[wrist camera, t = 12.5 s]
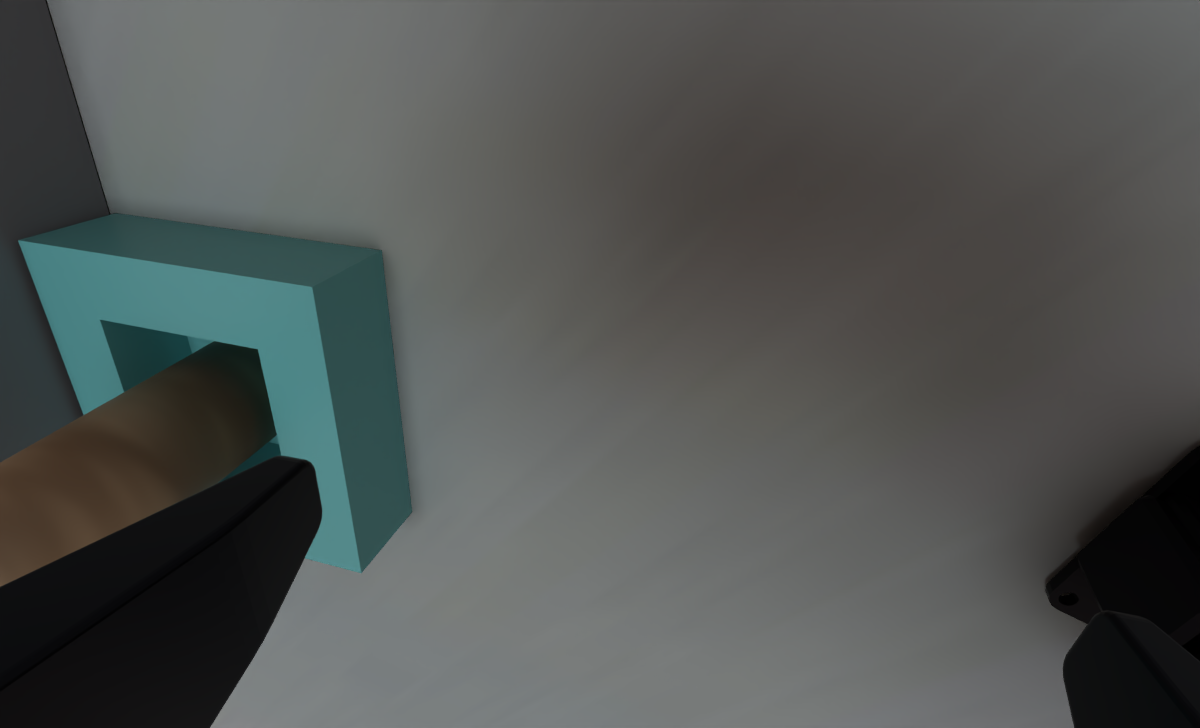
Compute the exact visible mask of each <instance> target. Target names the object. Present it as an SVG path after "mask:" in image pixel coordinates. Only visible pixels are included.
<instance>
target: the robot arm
mask: <svg viewBox="0 0 1200 728" xmlns="http://www.w3.org/2000/svg"><path fill="white" fill-rule="evenodd" d="M321 520H322V504H321V499H320V493H319V488H318V482H317V476H316V471H315V468H314V466H313V464H312V463H311V462H310V461H308V460H305V459H300V458H294V457H289V456H275V457H272V458H270V459H268V460H266V461H263V462H261V463H259V464H257V465H255V466H253V467H251V468H249V469H247V470H245V471H242V472H240V473H238V474H236V475H234V476H232V477H230V478H228V479H226V480H224V481H221V482H219V483H217V484H215V485H213V486H211V487H209V488H207V489H205V490H203V491H200V492H198V493H196V494H194V495H192V496H190V497H188V498H186V499H184V500H181V501H179V502H177V503H175V504H173V505H171V506H169V507H167V508H165V509H163V510H160V511H158V512H156V513H154V514H152V515H150V516H148V517H146V518H144V519H142V520H139V521H137V522H135V523H133V524H131V525H129V526H127V527H125V528H123V529H121V530H118V531H116V532H114V533H112V534H110V535H108V536H106V537H104V538H102V539H100V540H97V541H95V542H93V543H91V544H89V545H87V546H85V547H83V548H81V549H79V550H76V551H74V552H72V553H70V554H68V555H66V556H64V557H62V558H60V559H58V560H55V561H53V562H51V563H49V564H47V565H45V566H43V567H41V568H39V569H37V570H34V571H32V572H30V573H28V574H26V575H24V576H22V577H20V578H18V579H15V580H13V581H11V582H9V583H7V584H5V585H3V586H1V587H0V728H210V727H211V725H212V724H213V722H214V720H215V719H216V717H217V716H218V714H219V712H220V711H221V709H222V708H223V706H224V704H225V703H226V701H227V700H228V698H229V696H230V695H231V693H232V692H233V690H234V688H235V687H236V685H237V684H238V682H239V680H240V679H241V677H242V675H243V674H244V672H245V671H246V669H247V667H248V666H249V664H250V663H251V661H252V659H253V658H254V656H255V654H256V653H257V651H258V649H259V648H260V646H261V644H262V643H263V641H264V639H265V637H266V635H267V633H268V631H269V629H270V627H271V625H272V624H273V622H274V619H275V617H276V615H277V613H278V611H279V609H280V607H281V605H282V603H283V601H284V599H285V597H286V595H287V593H288V591H289V589H290V587H291V585H292V583H293V581H294V579H295V577H296V575H297V573H298V571H299V569H300V567H301V565H302V562H303V560H304V558H305V556H306V554H307V552H308V550H309V548H310V546H311V544H312V542H313V540H314V538H315V536H316V534H317V532H318V530H319V527H320V524H321ZM1045 591H1046V594H1047V596H1048V599H1049V601H1050V603H1051V605H1052V606H1053V607H1055V608H1056V609H1058V610H1060V611H1062V612H1064V613H1066V614H1068V615H1070V616H1072V617H1074V618H1076V619H1078V620H1080V621H1082V622H1085V623H1087V624H1088V625H1087V626H1086V628H1085V629H1084V630H1083V632H1082V633H1081V635H1080V636H1079V637H1078V639H1077V640H1076V642H1075V643H1074V644H1073V646H1072V647H1071V649H1070V650H1069V651H1068V653H1067V655H1066V657H1065V660H1064V664H1063V678H1064V683H1065V688H1066V692H1067V697H1068V701H1069V706H1070V710H1071V715H1072V720H1073V724H1074V728H1200V446H1199V447H1197V448H1196V449H1194V450H1192V451H1191V452H1190V453H1189V454H1188V455H1187V456H1186V457H1185V458H1184V459H1183V460H1181V461H1180V462H1179V463H1178V464H1177V465H1176V466H1175V467H1174V468H1173V469H1172V470H1170V471H1169V472H1168V473H1167V474H1166V475H1165V476H1164V477H1163V478H1162V479H1161V480H1160V481H1158V482H1157V483H1156V484H1155V485H1154V486H1153V487H1152V488H1151V489H1150V490H1149V491H1148V492H1146V493H1145V494H1144V495H1143V496H1142V497H1141V498H1139V499H1137V500H1136V501H1135V502H1134V503H1133V504H1132V505H1131V506H1130V507H1129V508H1127V509H1126V510H1125V511H1124V512H1123V513H1122V514H1121V515H1120V516H1119V517H1118V518H1117V519H1115V520H1114V521H1113V522H1112V523H1111V524H1110V525H1109V526H1108V527H1107V528H1106V529H1105V530H1103V531H1102V532H1101V533H1100V534H1099V535H1098V536H1097V537H1096V538H1095V539H1094V540H1093V541H1091V542H1090V543H1089V544H1088V545H1087V546H1086V547H1085V548H1084V549H1083V550H1082V551H1080V552H1079V553H1078V555H1077V556H1076V557H1075V558H1074V559H1073V560H1072V561H1071V562H1070V563H1069V564H1068V565H1067V566H1065V567H1064V568H1063V569H1062V570H1061V571H1060V572H1059V573H1058V574H1057V575H1056V576H1055V577H1053V578H1052V579H1051V580H1050V581H1049V582H1048V584H1047V585H1046V590H1045ZM1069 592H1070V593H1072V594H1070V595H1067V596H1062V595H1061V594H1063V593H1069Z"/></svg>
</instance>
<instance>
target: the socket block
mask: <svg viewBox="0 0 1200 728" xmlns="http://www.w3.org/2000/svg"><path fill="white" fill-rule="evenodd" d="M18 242H19V244H20V247H21V250H22V252H23V255H24V258H25V260H26V263H27V266H28V268H29V271H30V274H31V276H32V279H33V282H34V284H35V287H36V290H37V292H38V295H39V298H40V300H41V303H42V306H43V308H44V311H45V314H46V316H47V319H48V322H49V324H50V327H51V330H52V332H53V335H54V338H55V340H56V343H57V346H58V348H59V351H60V353H61V356H62V359H63V361H64V364H65V367H66V369H67V372H68V375H69V377H70V380H71V383H72V385H73V388H74V391H75V393H76V396H77V399H78V401H79V404H80V407H81V409H82V412H83V415H85V414H87V413H88V412H90V411H92V410H94V409H95V408H97V407H99V406H101V405H102V404H104V403H106V402H108V401H110V400H111V399H113V398H115V397H117V396H118V395H120V394H122V393H124V392H125V391H127V390H129V389H131V388H132V387H134V386H136V385H138V384H139V383H141V382H143V381H145V380H147V379H148V378H150V377H152V376H154V375H155V374H157V373H159V372H161V371H162V370H164V369H166V368H168V367H169V366H171V365H173V364H175V363H176V362H178V361H180V360H182V359H184V358H185V357H187V356H189V355H191V354H192V353H194V352H196V351H198V350H199V349H201V348H203V347H205V346H206V345H208V344H210V343H212V342H214V341H217V342H222V343H227V344H233V345H238V346H243V347H249V348H254V349H258V352H259V357H260V361H261V366H262V370H263V375H264V379H265V384H266V388H267V393H268V397H269V402H270V406H271V411H272V415H273V420H274V424H275V429H276V433H277V435H276V436H275V437H274V438H273V439H272V440H270V441H269V442H268V443H267V444H265V445H264V446H263V447H262V448H260V449H259V450H258V451H257V452H255V453H254V454H253V455H252V456H251V457H249V458H248V459H247V460H246V461H244V462H243V463H242V464H241V465H239V466H238V467H237V468H236V469H234V470H233V471H232V472H231V473H230V474H228V475H227V476H226V477H225V478H223V479H222V480H221V481H224V480H226V479H228V478H230V477H232V476H234V475H236V474H238V473H240V472H242V471H245V470H247V469H249V468H251V467H253V466H255V465H257V464H259V463H261V462H263V461H266V460H268V459H270V458H272V457H275V456H289V457H294V458H300V459H305V460H308V461H310V462H311V463H312V464H313V466H314V468H315V471H316V476H317V482H318V488H319V493H320V499H321V504H322V520H321V524H320V527H319V530H318V532H317V534H316V536H315V538H314V540H313V542H312V544H311V546H310V548H309V550H308V552H307V554H306V556H305V558H306V559H310V560H314V561H318V562H321V563H325V564H329V565H333V566H336V567H340V568H344V569H347V570H351V571H355V572H359V573H362V572H363V571H364V569H365V568H366V567H367V566H368V565H369V563H370V562H371V561H372V560H373V558H374V557H375V556H376V555H377V554H378V552H379V551H380V550H381V549H382V548H383V546H384V545H385V544H386V543H387V542H388V540H389V539H390V538H391V537H392V536H393V534H394V533H395V532H396V531H397V529H398V528H399V527H400V526H401V525H402V523H403V522H404V521H405V520H406V519H407V517H408V516H409V515H410V514H411V513H412V507H411V498H410V490H409V481H408V473H407V464H406V455H405V447H404V438H403V430H402V421H401V413H400V404H399V396H398V387H397V378H396V370H395V361H394V353H393V344H392V336H391V327H390V318H389V310H388V301H387V293H386V284H385V276H384V267H383V258H382V250H375V249H368V248H361V247H354V246H347V245H340V244H333V243H326V242H318V241H311V240H304V239H297V238H290V237H283V236H276V235H268V234H261V233H254V232H247V231H240V230H233V229H226V228H218V227H211V226H204V225H197V224H190V223H183V222H176V221H168V220H161V219H154V218H147V217H140V216H133V215H126V214H118V213H114V214H111V215H107V216H104V217H100V218H96V219H93V220H89V221H86V222H82V223H78V224H75V225H71V226H68V227H64V228H60V229H57V230H53V231H50V232H46V233H42V234H39V235H35V236H32V237H28V238H24V239H21V240H18ZM221 481H220V482H221ZM218 483H219V482H218Z"/></svg>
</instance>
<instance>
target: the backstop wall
mask: <svg viewBox="0 0 1200 728" xmlns="http://www.w3.org/2000/svg"><path fill="white" fill-rule="evenodd" d="M107 215H109V211H108V208H107V205H106V201H105V198H104V195H103V191H102V188H101V185H100V181H99V178H98V175H97V171H96V168H95V165H94V161H93V158H92V155H91V151H90V148H89V145H88V141H87V138H86V135H85V131H84V128H83V125H82V121H81V118H80V115H79V111H78V108H77V105H76V101H75V98H74V95H73V91H72V88H71V85H70V81H69V78H68V75H67V71H66V68H65V64H64V61H63V58H62V54H61V51H60V48H59V44H58V41H57V38H56V34H55V31H54V28H53V24H52V21H51V18H50V14H49V11H48V8H47V4H46V1H45V0H0V462H2V461H4V460H5V459H7V458H9V457H11V456H13V455H14V454H16V453H18V452H20V451H21V450H23V449H25V448H27V447H28V446H30V445H32V444H34V443H35V442H37V441H39V440H41V439H43V438H44V437H46V436H48V435H50V434H51V433H53V432H55V431H57V430H58V429H60V428H62V427H64V426H65V425H67V424H69V423H71V422H72V421H74V420H76V419H78V418H80V417H81V416H83V412H82V409H81V407H80V404H79V401H78V399H77V396H76V393H75V391H74V388H73V385H72V383H71V380H70V377H69V375H68V372H67V369H66V367H65V364H64V361H63V359H62V356H61V353H60V351H59V348H58V346H57V343H56V340H55V338H54V335H53V332H52V330H51V327H50V324H49V322H48V319H47V316H46V314H45V311H44V308H43V306H42V303H41V300H40V298H39V295H38V292H37V290H36V287H35V284H34V282H33V279H32V276H31V274H30V271H29V268H28V266H27V263H26V260H25V258H24V255H23V252H22V250H21V247H20V244H19V242H18V240H21V239H24V238H28V237H32V236H35V235H39V234H42V233H46V232H50V231H53V230H57V229H60V228H64V227H68V226H71V225H75V224H78V223H82V222H86V221H89V220H93V219H96V218H100V217H104V216H107Z"/></svg>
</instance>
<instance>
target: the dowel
mask: <svg viewBox="0 0 1200 728" xmlns="http://www.w3.org/2000/svg"><path fill="white" fill-rule="evenodd" d="M276 435H277V433H276V429H275V424H274V420H273V415H272V411H271V406H270V402H269V397H268V393H267V388H266V384H265V379H264V375H263V370H262V366H261V361H260V357H259V352H258V349H254V348H249V347H243V346H238V345H233V344H227V343H222V342H217V341H214V342H212V343H210V344H208V345H206V346H205V347H203V348H201V349H199V350H198V351H196V352H194V353H192V354H191V355H189V356H187V357H185V358H184V359H182V360H180V361H178V362H176V363H175V364H173V365H171V366H169V367H168V368H166V369H164V370H162V371H161V372H159V373H157V374H155V375H154V376H152V377H150V378H148V379H147V380H145V381H143V382H141V383H139V384H138V385H136V386H134V387H132V388H131V389H129V390H127V391H125V392H124V393H122V394H120V395H118V396H117V397H115V398H113V399H111V400H110V401H108V402H106V403H104V404H102V405H101V406H99V407H97V408H95V409H94V410H92V411H90V412H88V413H87V414H85V415H83V416H81V417H80V418H78V419H76V420H74V421H72V422H71V423H69V424H67V425H65V426H64V427H62V428H60V429H58V430H57V431H55V432H53V433H51V434H50V435H48V436H46V437H44V438H43V439H41V440H39V441H37V442H35V443H34V444H32V445H30V446H28V447H27V448H25V449H23V450H21V451H20V452H18V453H16V454H14V455H13V456H11V457H9V458H7V459H5V460H4V461H2V462H0V587H1V586H3V585H5V584H7V583H9V582H11V581H13V580H15V579H18V578H20V577H22V576H24V575H26V574H28V573H30V572H32V571H34V570H37V569H39V568H41V567H43V566H45V565H47V564H49V563H51V562H53V561H55V560H58V559H60V558H62V557H64V556H66V555H68V554H70V553H72V552H74V551H76V550H79V549H81V548H83V547H85V546H87V545H89V544H91V543H93V542H95V541H97V540H100V539H102V538H104V537H106V536H108V535H110V534H112V533H114V532H116V531H118V530H121V529H123V528H125V527H127V526H129V525H131V524H133V523H135V522H137V521H139V520H142V519H144V518H146V517H148V516H150V515H152V514H154V513H156V512H158V511H160V510H163V509H165V508H167V507H169V506H171V505H173V504H175V503H177V502H179V501H181V500H184V499H186V498H188V497H190V496H192V495H194V494H196V493H198V492H200V491H203V490H205V489H207V488H209V487H211V486H213V485H215V484H217V483H218V482H220V481H221V480H222V479H223V478H225V477H226V476H227V475H228V474H230V473H231V472H232V471H233V470H234V469H236V468H237V467H238V466H239V465H241V464H242V463H243V462H244V461H246V460H247V459H248V458H249V457H251V456H252V455H253V454H254V453H255V452H257V451H258V450H259V449H260V448H262V447H263V446H264V445H265V444H267V443H268V442H269V441H270V440H272V439H273V438H274V437H275V436H276Z"/></svg>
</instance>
